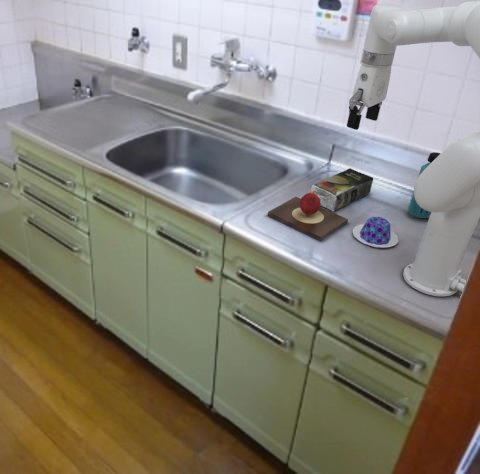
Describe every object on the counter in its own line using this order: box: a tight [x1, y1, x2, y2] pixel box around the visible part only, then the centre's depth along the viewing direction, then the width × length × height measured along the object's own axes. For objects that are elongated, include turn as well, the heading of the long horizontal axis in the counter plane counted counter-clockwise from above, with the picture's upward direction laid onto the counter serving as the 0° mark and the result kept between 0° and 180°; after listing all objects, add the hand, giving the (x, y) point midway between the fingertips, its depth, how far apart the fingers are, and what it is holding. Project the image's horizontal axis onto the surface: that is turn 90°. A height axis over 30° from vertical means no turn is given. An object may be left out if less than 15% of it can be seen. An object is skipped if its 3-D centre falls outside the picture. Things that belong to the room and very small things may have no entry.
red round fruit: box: [300, 190, 322, 215], centre depth 151 cm, size 6×6×8 cm
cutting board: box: [267, 196, 349, 242], centre depth 153 cm, size 18×14×2 cm
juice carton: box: [310, 167, 374, 213], centre depth 164 cm, size 20×10×6 cm, turn 128°
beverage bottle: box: [407, 151, 442, 219], centre depth 151 cm, size 6×7×20 cm
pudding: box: [352, 216, 399, 249], centre depth 145 cm, size 12×12×5 cm
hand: (361, 123), depth 141 cm, fingers open, 9 cm apart
